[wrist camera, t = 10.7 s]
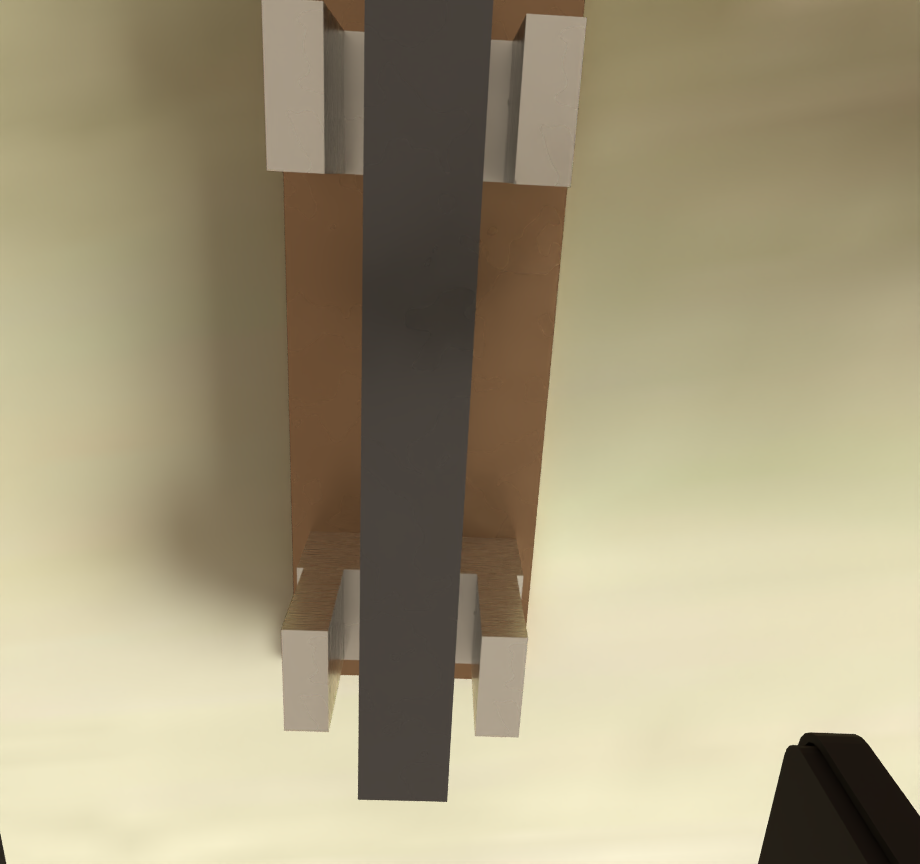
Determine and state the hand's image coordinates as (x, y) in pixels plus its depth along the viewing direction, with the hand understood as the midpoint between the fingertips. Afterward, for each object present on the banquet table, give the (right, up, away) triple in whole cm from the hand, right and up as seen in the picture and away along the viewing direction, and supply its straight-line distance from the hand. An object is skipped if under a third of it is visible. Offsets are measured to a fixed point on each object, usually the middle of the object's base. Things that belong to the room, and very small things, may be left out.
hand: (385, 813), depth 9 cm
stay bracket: (-1, +7, +21) cm, 22 cm away
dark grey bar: (0, +6, +17) cm, 18 cm away
